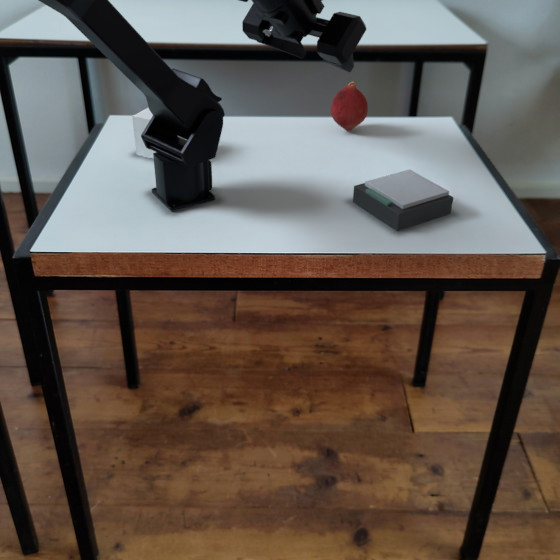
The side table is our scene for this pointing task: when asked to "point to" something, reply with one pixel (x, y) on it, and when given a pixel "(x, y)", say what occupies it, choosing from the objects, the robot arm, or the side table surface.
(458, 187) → the side table surface
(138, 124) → the white cube
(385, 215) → the scale
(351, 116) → the onion
